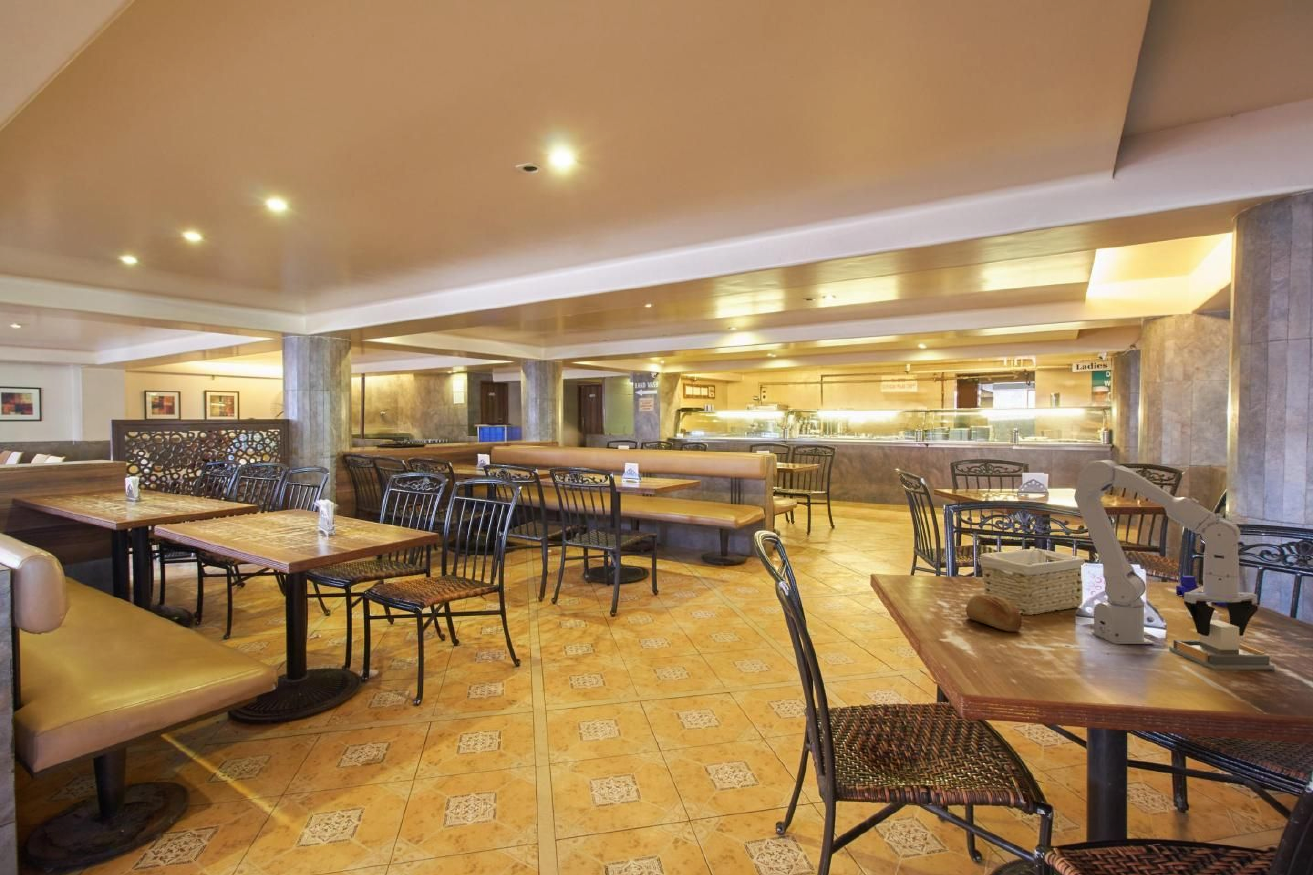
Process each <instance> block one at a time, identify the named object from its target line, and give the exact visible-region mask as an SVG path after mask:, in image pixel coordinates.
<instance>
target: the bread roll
mask: <svg viewBox="0 0 1313 875" xmlns="http://www.w3.org/2000/svg"><path fill="white" fill-rule="evenodd" d="M965 613H966V615H967V617H968V618H969V619H971V620H972V621H975V622H978V623H981V624H984V625H987V626H990V627H993V628H996V629H999V630H1001V631H1005V632H1018V631H1020V630H1021V629H1022V626H1023V618H1022V614H1020V613H1019V611H1018V609H1017V608H1016V607H1015V606H1014V605H1013V604H1012V603H1011V602H1009V601H1008V600H1006V599H1004V598H1002V597H999V596H996V595H991V594H990V595H989V594H985V593H984V594H980V593H979V594H975V595H972V596H971V597H970V599H969V600H968V602H967V605H966V607H965Z"/></svg>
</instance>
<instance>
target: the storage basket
mask: <svg viewBox="0 0 1313 875" xmlns="http://www.w3.org/2000/svg"><path fill="white" fill-rule="evenodd" d="M1048 560H1049V561H1048ZM1047 561H1048V562H1047ZM1084 563H1085V564H1086V562H1085V559H1084V557H1082V556H1076V555H1071V554H1067V553H1062V552H1058V551H1052V550H1048V549H1041V548H1037V547H1036V548H1029V549H1016V550H1009V551H996V552H988V553H987V552H985V553H982V554H980V566H981V570H982V572H981V573H982V578H983V581H982V582H983V589H984V594H989V595H990V594H991V595H996V596H999V597H1002V598H1004V599H1006V600H1008V601H1009V602H1011V603H1012V604H1013V605H1014V606H1015V607H1016V608H1017V609H1018V611H1019V612H1021V613H1023V614H1022V615H1027V616H1034V615H1033V614H1036V615H1038V614H1039V615H1040V614H1045V613H1044V612H1047V613H1049V612H1050V613H1051V612H1056V611H1055V610H1058V611H1062V610H1065V609H1066V610H1069V609H1072V608H1073V609H1074V608H1078V607H1079V608H1080V606H1079V605H1080V604H1082V596H1083V595H1082V594H1083V587H1082V581H1081V565H1083V564H1084Z"/></svg>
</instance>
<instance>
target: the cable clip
mask: <svg viewBox="0 0 1313 875" xmlns="http://www.w3.org/2000/svg"><path fill="white" fill-rule="evenodd" d="M1197 588H1199V586H1198V584H1197V582H1196V576H1193V575H1180V585H1176V588H1175V592H1176V593H1175V595H1176V594H1177V595H1176V596H1179V595H1182V596H1183V598H1184V593H1185V592H1190V591H1192V590H1195V589H1197ZM1182 596H1181V597H1182ZM1213 604H1214V605H1215V606H1216V605H1217V607H1227V605H1226V602H1211V605H1213ZM1214 605H1213V606H1214Z"/></svg>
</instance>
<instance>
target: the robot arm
mask: <svg viewBox="0 0 1313 875" xmlns="http://www.w3.org/2000/svg"><path fill="white" fill-rule="evenodd" d="M1077 479H1078V480H1077V485H1076V488H1075V492H1074V500H1075V503H1076V505H1077V508H1078V510H1079V512H1080V515H1081V517H1082V521H1083V522H1084V525H1085V527H1086V529H1087V532H1088V534H1089V536H1090V538H1091V540H1092V543H1093V546H1094V548H1095V550H1096V552H1097V554H1098V557H1099V559H1100V562H1101V564H1102V568H1103V569H1102V572H1103V573H1102V576H1103V579H1104V581H1105V586H1104V592H1105V594H1106V596H1107V597H1106V601H1104V602H1098V603H1096V604H1095V606H1094V609H1093V630H1091V634H1092V635H1095V636H1098V637H1100V638H1102V639H1103V640H1106V641H1107V642H1111V643H1112V644H1114V645H1152V644H1153V645H1154V643H1155V642H1154V641H1152V640H1150V639H1148V638H1146V637H1145V636H1144V634H1145V602H1144V601H1143V599H1142V598H1141V597H1142V596H1143V595H1144V594H1145V592H1146V590H1147V586H1146V582H1145V581H1144V579H1143V578H1142V577H1140V576H1139V575H1138V573H1136V571H1135V569H1134V567H1133V566H1132V565H1131V563H1130V562H1129V561H1128V560H1127V558H1126V555H1125V553H1124V551H1123V548H1122V546H1121V544H1120V541H1119V540H1118V537H1117V535H1116V533H1115V530H1114V528H1113V525H1112V524H1111V521H1110V518H1109V517H1108V514H1107V512H1106V510H1105V507H1104V505H1103V502H1102V497H1104V495H1105V493H1106V492H1107V491H1108V489H1110V487H1114V488H1115V487H1117V488H1125V489H1127V488H1128V489H1130V490H1132V491H1133V492H1136V493H1137V494H1140V495H1141V496H1142V497H1145V498H1146V499H1147V500H1150V501H1152V502H1154V503H1155V504H1157V505H1159V506H1161V507H1162V508H1164V510H1165V513H1166V517H1168V518H1170V519H1171V520H1173V521H1174V522H1176V523H1178V524H1179V525H1181V526H1183V527H1184V528H1186V529H1188V530H1189V531H1191V532H1193V533H1194V534H1197V535H1200V536H1201V539H1202V540H1203V541H1204V552H1203V571H1202V572H1203V575H1202V577H1203V578H1202V580H1203V582H1202V584H1203V585H1202V586H1203V590H1202V591H1196V592H1185V593H1184V597H1183V599H1184V600H1183V604H1184V605H1185V607H1186V608H1187V609H1188V610H1189V612H1190V613H1191V615H1192V618H1193V619H1192V618H1191V619H1192V621H1193V623H1194V626H1195V628H1196V632H1197V634H1199V635H1200V634H1201V635H1204V636H1209V632H1210V621H1211V617H1212V614H1213V612H1214V611H1216V608H1215V607H1212V606H1211V607H1210V606H1208V604H1206V602H1226V605H1227V606H1226V607H1227V611H1228V615H1229V624H1231V625H1234V626H1237V627H1239V637H1243V636H1244V634H1245V631H1246V628H1247V626H1248V625H1249V622H1250V621H1251V619H1252V617H1253V616H1254V615H1255V614H1256V613H1257V612H1258V611H1259V606H1258V605H1257V604H1258V594H1255V593H1253V592H1247V591H1246V592H1244V591H1243V592H1242V591H1239V584H1240V583H1239V580H1240V578H1239V576H1240V573H1239V572H1240V570H1239V569H1240V555H1239V554H1238V553H1239V547H1238V546H1239V545H1238V540H1240V538H1241V530H1240V528H1239V526H1238V525H1237V524H1236V523H1235V522H1234V521H1232V519H1229V518H1223V514H1220V513H1219V512H1217V513H1215V512H1212V511H1211V510H1209V509H1207V508H1205V507H1203V506H1202V505H1200V504H1199V502H1200V501H1199V500H1197V499H1195V498H1191V499H1190V498H1188V497H1187V496H1186V497H1185V496H1182V497H1175V496H1174V495H1172V494H1171V493H1169V492H1167V491H1166V490H1164V489H1163V488H1161V487H1160V486H1158V485H1156V484H1155V483H1153V482H1152V481H1150V480H1148V479H1147V478H1145V477H1144V476H1142V475H1140V474H1139V473H1137V472H1135V471H1134V470H1132V469H1131V468H1129V467H1128V466H1127V467H1126V466H1124V465H1120V464H1119V463H1118V462H1117V461H1114V460H1111V459H1101V460H1094V461H1093V460H1092V461H1090V462H1088V463H1086V464H1085V465H1084V467H1083V468H1082V469H1081V470H1080V471H1079V473H1078V474H1077ZM1188 610H1187V611H1188Z"/></svg>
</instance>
